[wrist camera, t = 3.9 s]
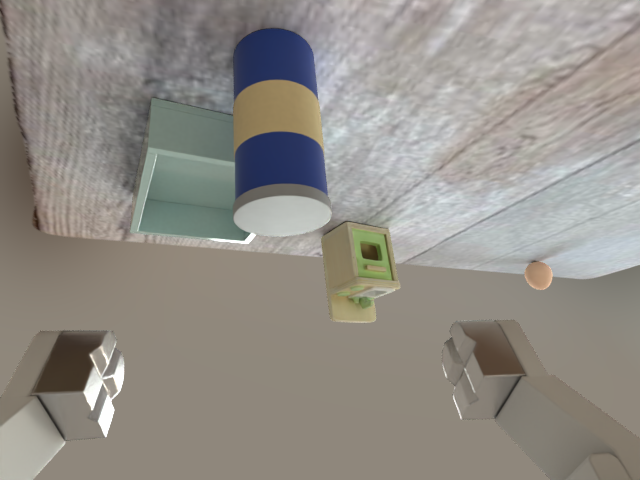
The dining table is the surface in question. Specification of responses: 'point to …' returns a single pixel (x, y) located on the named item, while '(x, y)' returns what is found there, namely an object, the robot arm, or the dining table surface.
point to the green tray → (186, 175)
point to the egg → (538, 275)
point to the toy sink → (357, 270)
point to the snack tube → (277, 137)
